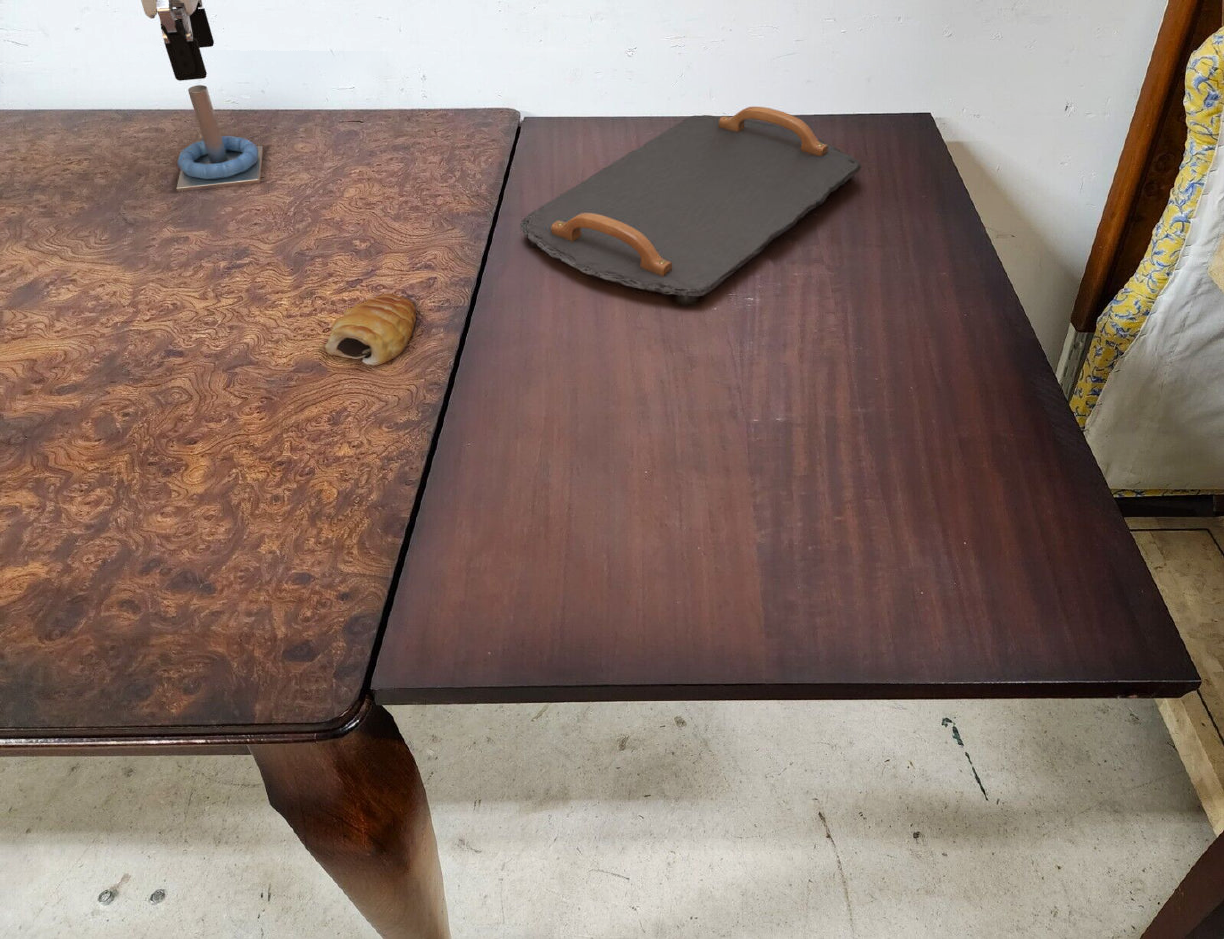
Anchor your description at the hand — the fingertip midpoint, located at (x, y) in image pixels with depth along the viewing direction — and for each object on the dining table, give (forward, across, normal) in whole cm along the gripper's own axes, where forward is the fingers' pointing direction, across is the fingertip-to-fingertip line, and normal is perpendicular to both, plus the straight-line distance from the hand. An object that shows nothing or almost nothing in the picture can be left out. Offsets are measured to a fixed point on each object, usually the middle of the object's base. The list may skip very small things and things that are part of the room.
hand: (196, 61), depth 108 cm
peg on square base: (+12, +4, 0) cm, 12 cm away
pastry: (+12, +42, +16) cm, 46 cm away
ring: (+10, +3, 0) cm, 10 cm away
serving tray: (+12, +26, +51) cm, 58 cm away
